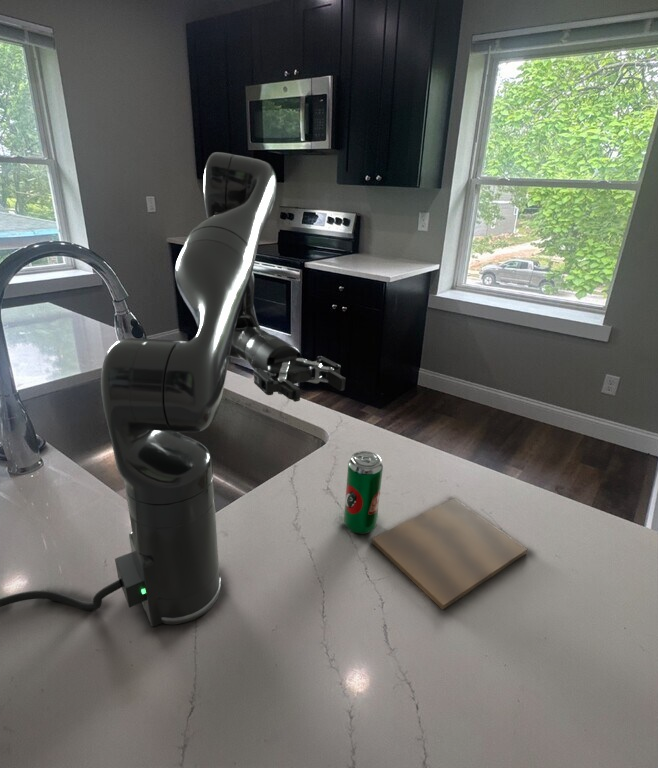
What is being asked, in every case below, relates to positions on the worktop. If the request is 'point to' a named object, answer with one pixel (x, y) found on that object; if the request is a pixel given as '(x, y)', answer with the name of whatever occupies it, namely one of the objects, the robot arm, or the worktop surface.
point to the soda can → (363, 492)
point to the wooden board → (448, 551)
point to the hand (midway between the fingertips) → (321, 390)
